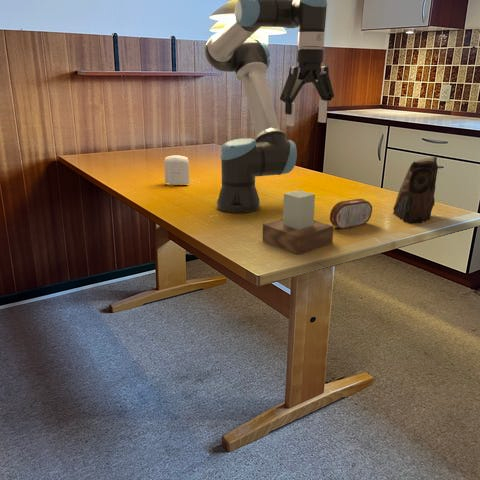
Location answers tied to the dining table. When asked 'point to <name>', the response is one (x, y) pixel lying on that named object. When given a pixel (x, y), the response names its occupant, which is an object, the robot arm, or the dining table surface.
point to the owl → (417, 192)
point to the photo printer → (176, 170)
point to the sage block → (298, 209)
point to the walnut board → (298, 236)
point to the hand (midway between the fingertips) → (306, 124)
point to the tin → (350, 213)
